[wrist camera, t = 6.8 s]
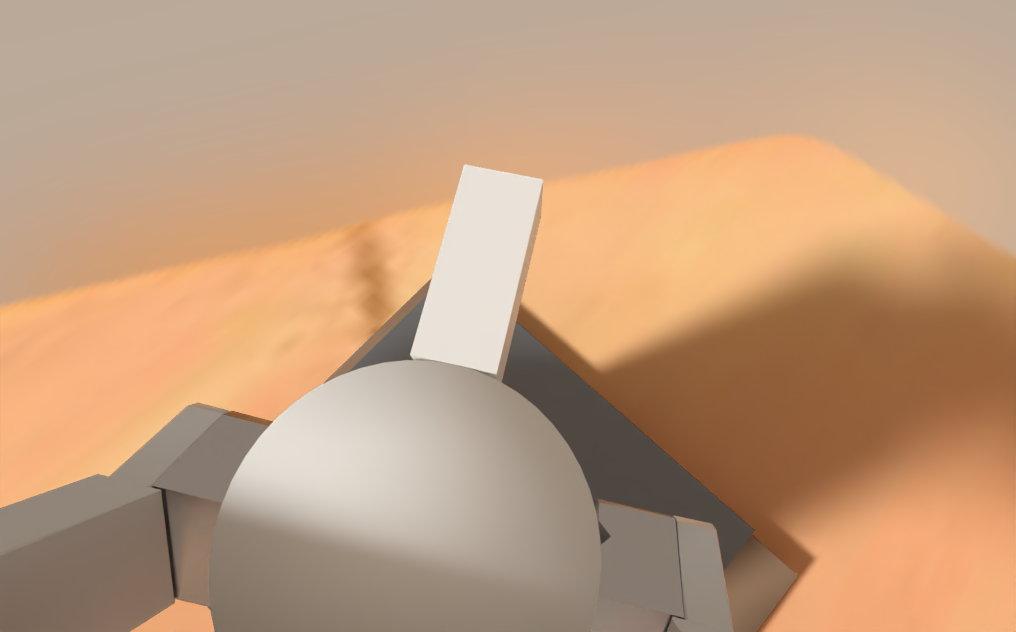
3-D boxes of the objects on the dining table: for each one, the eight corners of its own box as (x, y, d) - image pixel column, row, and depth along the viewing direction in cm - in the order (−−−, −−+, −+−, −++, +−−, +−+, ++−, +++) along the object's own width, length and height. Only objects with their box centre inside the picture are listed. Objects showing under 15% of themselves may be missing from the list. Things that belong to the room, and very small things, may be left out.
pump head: (620, 480, 20) (803, 387, 7) (482, 643, 19) (400, 890, 6) (508, 379, 21) (492, 138, 8) (370, 525, 20) (89, 512, 7)
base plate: (785, 573, 30) (798, 575, 29) (556, 880, 27) (558, 899, 25) (448, 275, 35) (445, 265, 34) (217, 501, 32) (203, 499, 30)
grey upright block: (618, 531, 29) (754, 530, 12) (497, 676, 28) (462, 908, 11) (490, 412, 31) (454, 267, 14) (369, 541, 29) (162, 553, 12)
